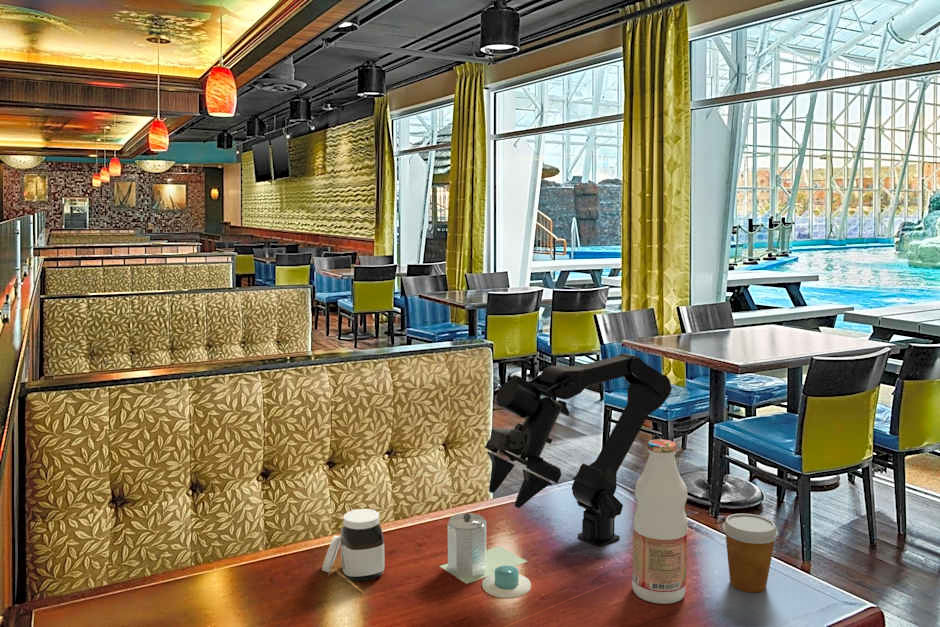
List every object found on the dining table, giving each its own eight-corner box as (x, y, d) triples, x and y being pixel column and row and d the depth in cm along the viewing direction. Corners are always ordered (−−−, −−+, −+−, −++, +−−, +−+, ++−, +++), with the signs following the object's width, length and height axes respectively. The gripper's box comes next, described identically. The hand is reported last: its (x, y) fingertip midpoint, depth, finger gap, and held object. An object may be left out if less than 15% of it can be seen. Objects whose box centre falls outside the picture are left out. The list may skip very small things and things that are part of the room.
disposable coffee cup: (774, 576, 142) (776, 515, 141) (776, 600, 134) (779, 536, 132) (721, 569, 146) (723, 509, 144) (720, 592, 137) (722, 529, 135)
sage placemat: (499, 547, 156) (499, 545, 156) (527, 562, 149) (527, 561, 149) (439, 567, 147) (439, 566, 147) (466, 585, 140) (466, 583, 140)
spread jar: (389, 581, 142) (388, 521, 141) (330, 592, 138) (328, 531, 136) (372, 555, 153) (371, 500, 152) (317, 565, 149) (315, 508, 147)
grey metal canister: (471, 558, 151) (470, 503, 149) (493, 571, 145) (492, 514, 144) (441, 568, 146) (441, 512, 145) (463, 581, 141) (462, 524, 139)
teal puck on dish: (509, 571, 146) (509, 555, 145) (541, 589, 138) (541, 572, 138) (472, 584, 140) (472, 568, 140) (503, 604, 133) (503, 587, 133)
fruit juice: (621, 589, 138) (623, 441, 134) (655, 575, 143) (658, 432, 140) (661, 611, 130) (665, 454, 127) (696, 594, 136) (701, 444, 132)
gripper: (482, 401, 153) (449, 471, 151) (536, 421, 137) (499, 501, 135) (522, 421, 158) (489, 490, 156) (577, 444, 142) (542, 520, 140)
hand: (503, 499), depth 147 cm, fingers open, 9 cm apart
